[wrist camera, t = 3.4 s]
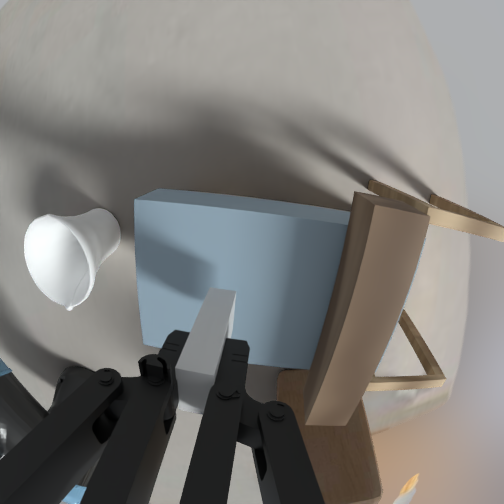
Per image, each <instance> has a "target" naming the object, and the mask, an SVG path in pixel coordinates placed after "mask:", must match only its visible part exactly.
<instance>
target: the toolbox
mask: <svg viewBox="0 0 504 504" xmlns="http://www.w3.org/2000/svg"><path fill="white" fill-rule="evenodd" d="M368 190H370V191H372V192H373V193H375V194H377V195H379V196H381V197H386V198H390V199H395V200H400V201H403V202H405V203H407V204H409V205H410V206H412V207H414V208H416V209H418V210H420V211H421V212H423V213H425V214H427V215H429V216H430V221H429V224H432V225H437V226H441V227H445V228H450V229H454V230H458V231H462V232H466V233H471V234H475V235H478V236H482V237H486V238H490V239H494V240H498V241H501V242H504V227H503V226H502V225H500V224H498V223H496V222H494V221H492V220H490V219H488V218H486V217H484V216H482V215H479V214H477V213H475V212H473V211H471V210H469V209H467V208H464V207H462V206H460V205H458V204H455V203H453V202H451V201H449V200H446V199H444V198H441V197H439V196H436V195H432V194H431V198H430V202H429V203H430V204H432V205H434V206H436V207H438V208H436V207H434V206H432V205H430V204H428V203H426V202H423V201H421V200H419V199H417V198H415V197H413V196H411V195H408V194H406V193H404V192H402V191H399V190H397V189H395V188H393V187H390V186H388V185H386V184H383V183H381V182H378V181H374V180H369V185H368ZM188 191H189V190H188ZM195 192H199V191H195ZM205 193H210V192H205ZM215 194H219V193H215ZM225 195H229V194H225ZM234 196H238V195H234ZM242 197H246V196H242ZM251 198H255V197H251ZM259 199H263V198H259ZM267 200H270V199H267ZM275 201H278V200H275ZM282 202H285V201H282ZM289 203H293V202H289ZM296 204H300V203H296ZM303 205H306V204H303ZM310 206H313V205H310ZM317 207H320V206H317ZM323 208H326V207H323ZM330 209H332V208H330ZM336 210H339V209H336ZM342 211H345V210H342ZM348 212H351V211H348ZM398 322H399V324H400V326H401V328H402V329H403V331H404V333H405V335H406V336H407V338H408V340H409V342H410V343H411V345H412V347H413V349H414V351H415V353H416V354H417V356H418V358H419V360H420V362H421V364H422V366H423V368H424V370H425V372H426V374H427V375H423V376H398V377H375V375H373V377H372V379H371V381H370V383H369V385H368V387H367V388H366V390H365V391H386V390H408V389H422V388H433V387H442V385H443V383H444V382H445V380H446V377H445V376H444V374H443V372H442V370H441V369H440V367H439V365H438V363H437V362H436V360H435V358H434V356H433V355H432V353H431V351H430V350H429V348H428V346H427V345H426V343H425V341H424V340H423V338H422V337H421V335H420V333H419V332H418V330H417V329H416V327H415V325H414V324H413V322H412V321H411V319H410V318H409V316H408V315H407V313H406V311H405V310H403V311H402V313H401V316H400V318H399V321H398Z"/></svg>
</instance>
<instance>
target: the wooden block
mask: <svg viewBox="0 0 504 504" xmlns="http://www.w3.org/2000/svg"><path fill="white" fill-rule="evenodd" d="M308 373H309V370H307V369H294V370H284V371H282V372H280V373H279V375H278V378H277V401H281V402H283V403H286V404H287V405H289V406H290V407H291V408H292V410H293V411H294V414H295V417H296V420H297V423H298V426H299V429H300V432H301V435H302V438H303V441H304V444H305V447H306V450H307V453H308V455H309V458H310V461H311V464H312V467H313V470H314V473H315V476H316V479H317V482H318V485H319V487H320V490H321V493H322V496H323V499H324V502H325V504H378V502H379V501H380V499H381V497H382V493H383V489H382V484H381V479H380V474H379V469H378V464H377V460H376V455H375V450H374V446H373V441H372V437H371V432H370V428H369V424H368V420H367V416H366V412H365V408H364V404H363V400H362V398H361V400H360V402H359V403H358V405H357V407H356V409H355V411H354V412H353V414H352V416H351V418H350V419H349V421H348V423H347V424H346V426H320V425H305V415H304V399H303V388H304V385H305V382H306V379H307V376H308Z"/></svg>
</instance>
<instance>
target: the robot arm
mask: <svg viewBox="0 0 504 504" xmlns="http://www.w3.org/2000/svg"><path fill="white" fill-rule="evenodd" d="M235 300H236V291H232V290H225V289H218V288H212V287H210V288H209V290H208V293H207V295H206V297H205V299H204V302H203V304H202V306H201V309H200V311H199V313H198V315H197V318H196V320H195V322H194V325H193V327H192V329H191V332H186V331H180V330H174V331H173V332H171V333H170V334H169V335H168V336H167V338H166V340H165V342H164V344H163V346H162V349H161V350H160V352H159V353H158V355H157V354H151V355H146V356H144V357H142V358H141V359H140V360H139V361H138V363H139V369H140V374H141V376H139V377H121V376H120V373H119V372H117V371H116V370H114V369H111V368H104V369H100V370H98V371H96V372H95V373H94V372H92V371H90V370H87V369H84V368H81V367H68V368H67V369H65V371H64V372H63V373H62V374H61V376H60V377H59V379H58V383H57V386H56V390H55V394H54V398H53V402H52V405H51V407H50V409H49V410H48V411H46V410H45V409H44V408H43V407H42V406H41V405H40V404H39V403H38V401H37V400H36V399H35V398H34V397H33V396H32V395H31V394H30V393H29V392H28V391H27V390H26V388H25V387H24V386H23V385H22V384H21V383H20V382H19V380H18V379H17V378H16V377H15V376H14V374H13V373H12V372H11V371H12V370H11V369H10V368H8V367H7V366H6V364H5V363H4V362H3V361H2V360H1V358H0V458H1V457H2V456H3V455H5V456H4V457H3V458H2V459H1V460H0V504H59V503H60V502H61V501H63V502H66V503H68V504H148V503H149V500H150V497H151V494H152V491H153V488H154V485H155V482H156V478H157V475H158V472H159V469H160V466H161V463H162V460H163V457H164V454H165V451H166V448H167V445H168V442H169V439H170V436H171V433H172V430H173V427H174V424H175V421H176V409H177V406H178V404H179V410H184V411H188V412H193V413H198V414H203V417H202V420H201V424H200V428H199V432H198V435H197V439H196V443H195V447H194V450H193V454H192V458H191V462H190V466H189V469H188V473H187V477H186V481H185V485H184V488H183V492H182V496H181V500H180V504H227V499H228V493H229V486H230V480H231V474H232V467H233V461H234V455H235V448H236V441H237V442H240V443H242V444H244V445H247V446H249V447H251V448H252V453H253V458H254V463H255V468H256V473H257V478H258V482H259V487H260V492H261V496H262V501H263V504H325V502H324V499H323V496H322V493H321V490H320V487H319V485H318V482H317V479H316V476H315V473H314V470H313V467H312V464H311V461H310V458H309V455H308V453H307V450H306V447H305V444H304V441H303V438H302V435H301V432H300V429H299V426H298V423H297V420H296V417H295V414H294V411H293V410H292V408H291V407H290V406H289V405H287V404H286V403H283V402H281V401H270V402H266V403H265V404H263V403H260V402H257V401H255V400H253V399H252V398H251V397H249V396H248V394H247V393H246V391H245V380H246V373H247V366H248V359H249V352H250V347H249V345H248V343H247V341H245V340H238V339H231V335H232V331H233V321H234V311H235Z"/></svg>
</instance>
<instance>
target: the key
mask: <svg viewBox="0 0 504 504" xmlns="http://www.w3.org/2000/svg"><path fill="white" fill-rule="evenodd" d="M429 221H430V216H429V215H427V214H425V213H423V212H421V211H420V210H418V209H416V208H414V207H412V206H410V205H409V204H407V203H405V202H403V201H400V200H395V199H390V198H386V197H381V196H376V195H371V194H366V193H361V192H355V191H354V197H353V202H352V207H351V213H350V218H349V223H348V227H347V232H346V237H345V242H344V246H343V251H342V255H341V259H340V264H339V268H338V272H337V276H336V280H335V284H334V288H333V292H332V296H331V299H330V303H329V307H328V310H327V314H326V318H325V321H324V325H323V328H322V332H321V335H320V338H319V342H318V345H317V348H316V351H315V355H314V358H313V361H312V364H311V367H310V370H309V373H308V376H307V379H306V382H305V385H304V388H303V399H304V415H305V425H320V426H346V424H347V423H348V421H349V419H350V418H351V416H352V414H353V412H354V411H355V409H356V407H357V405H358V403H359V402H360V400H361V398H362V396H363V394H364V392H365V390H366V388H367V387H368V385H369V383H370V381H371V379H372V377H373V375H374V373H375V371H376V369H377V366H378V364H379V362H380V360H381V358H382V356H383V354H384V351H385V349H386V347H387V345H388V342H389V340H390V338H391V335H392V333H393V331H394V328H395V326H396V323H397V321H398V318H399V316H400V313H401V311H402V308H403V305H404V303H405V300H406V297H407V294H408V292H409V289H410V286H411V283H412V280H413V277H414V274H415V271H416V268H417V264H418V261H419V258H420V254H421V251H422V247H423V244H424V240H425V237H426V233H427V229H428V225H429Z"/></svg>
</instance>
